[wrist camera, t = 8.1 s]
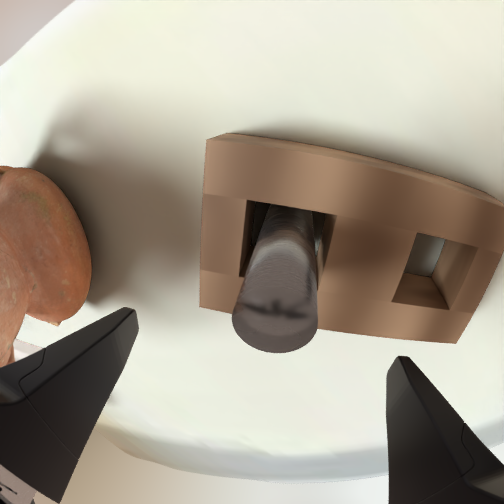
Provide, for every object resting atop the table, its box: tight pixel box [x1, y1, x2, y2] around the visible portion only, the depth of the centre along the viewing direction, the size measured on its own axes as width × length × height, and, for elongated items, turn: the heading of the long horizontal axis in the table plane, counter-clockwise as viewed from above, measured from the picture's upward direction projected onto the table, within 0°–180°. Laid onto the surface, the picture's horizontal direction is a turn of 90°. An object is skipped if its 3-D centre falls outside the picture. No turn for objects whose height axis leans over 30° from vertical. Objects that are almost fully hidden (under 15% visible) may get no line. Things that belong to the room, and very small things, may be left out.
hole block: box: [199, 133, 504, 344], centre depth 17 cm, size 18×10×4 cm, turn 84°
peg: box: [232, 204, 318, 353], centre depth 14 cm, size 3×3×10 cm
